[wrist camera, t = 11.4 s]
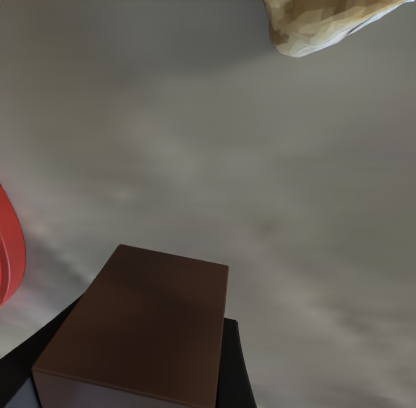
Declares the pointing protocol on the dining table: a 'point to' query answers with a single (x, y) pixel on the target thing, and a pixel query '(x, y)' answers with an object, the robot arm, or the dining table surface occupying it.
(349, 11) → the pastry
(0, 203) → the red lid
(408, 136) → the dining table surface
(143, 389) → the walnut block
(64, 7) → the dining table surface
